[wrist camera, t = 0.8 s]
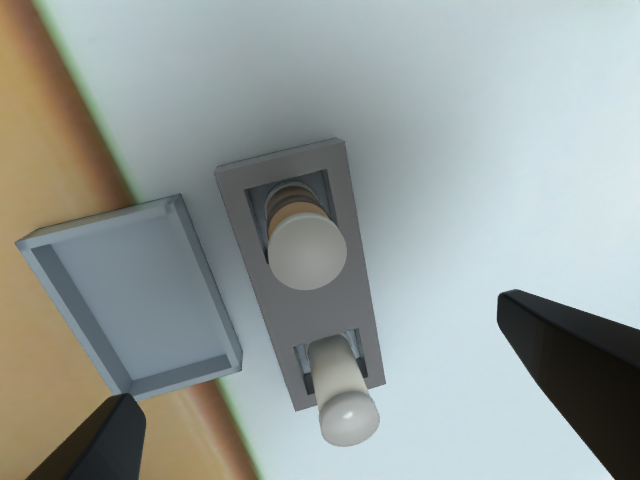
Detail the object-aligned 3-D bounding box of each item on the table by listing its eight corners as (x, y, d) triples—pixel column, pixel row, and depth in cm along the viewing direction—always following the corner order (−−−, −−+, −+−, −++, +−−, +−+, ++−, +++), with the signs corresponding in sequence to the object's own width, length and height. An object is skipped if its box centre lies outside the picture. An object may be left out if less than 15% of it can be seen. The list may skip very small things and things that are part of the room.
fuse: (352, 354, 26) (383, 435, 20) (309, 366, 26) (327, 453, 19) (344, 319, 25) (375, 395, 18) (299, 332, 24) (315, 414, 18)
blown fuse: (323, 226, 22) (352, 278, 15) (272, 239, 21) (279, 298, 15) (312, 174, 20) (339, 209, 14) (257, 188, 20) (258, 230, 14)
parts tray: (242, 351, 24) (241, 370, 22) (130, 383, 24) (120, 406, 22) (180, 193, 19) (172, 203, 18) (36, 229, 19) (14, 242, 17)
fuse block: (377, 364, 27) (385, 383, 25) (292, 390, 26) (295, 411, 25) (336, 137, 20) (344, 141, 18) (217, 166, 19) (213, 173, 17)
